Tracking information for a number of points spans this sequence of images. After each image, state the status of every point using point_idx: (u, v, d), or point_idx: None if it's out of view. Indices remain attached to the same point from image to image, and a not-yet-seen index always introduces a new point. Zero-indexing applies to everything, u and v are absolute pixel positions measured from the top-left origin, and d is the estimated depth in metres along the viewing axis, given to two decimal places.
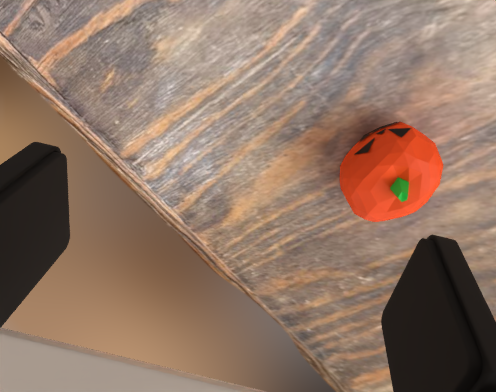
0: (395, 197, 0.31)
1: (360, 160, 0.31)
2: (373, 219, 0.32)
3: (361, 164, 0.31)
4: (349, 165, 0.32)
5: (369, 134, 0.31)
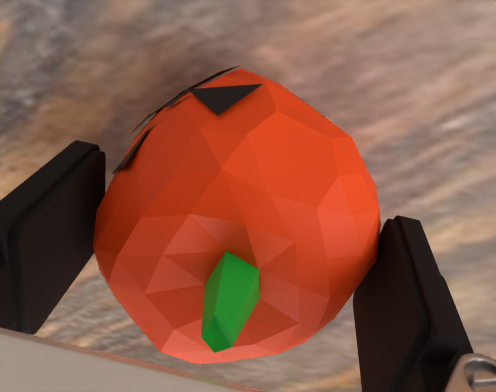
0: None
1: (114, 193, 0.10)
2: None
3: (113, 207, 0.09)
4: (99, 206, 0.10)
5: (158, 111, 0.10)
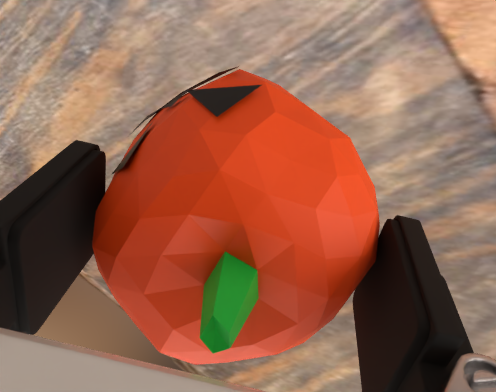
0: None
1: (113, 193, 0.10)
2: None
3: (112, 207, 0.09)
4: (98, 206, 0.10)
5: (157, 112, 0.10)
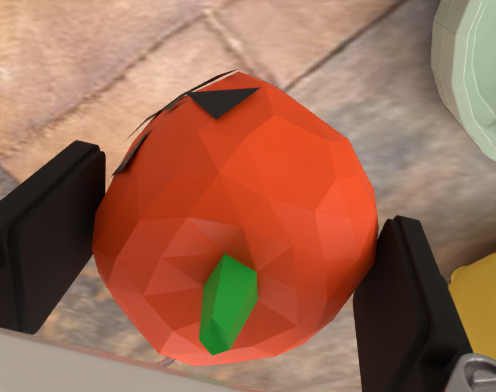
0: None
1: (113, 196, 0.10)
2: None
3: (111, 209, 0.09)
4: (98, 208, 0.10)
5: (156, 114, 0.10)
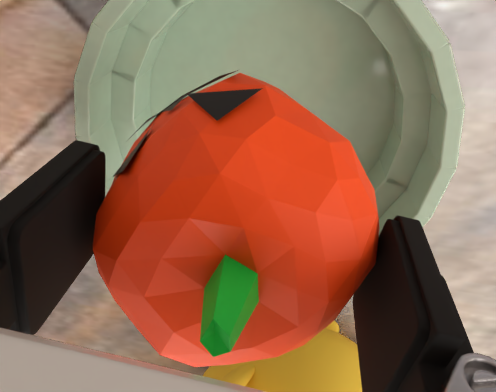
0: None
1: (113, 196, 0.10)
2: None
3: (112, 210, 0.09)
4: None
5: (157, 115, 0.10)
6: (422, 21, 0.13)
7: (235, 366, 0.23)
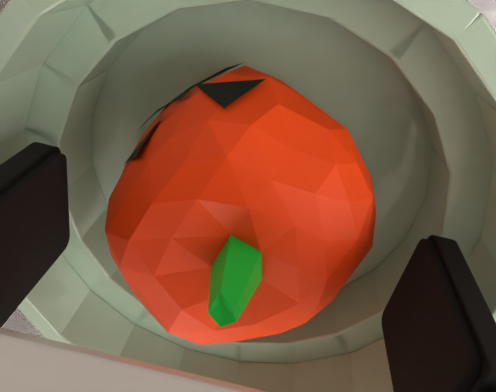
0: None
1: (126, 181, 0.10)
2: None
3: (125, 194, 0.10)
4: (111, 195, 0.11)
5: (166, 105, 0.11)
6: None
7: None
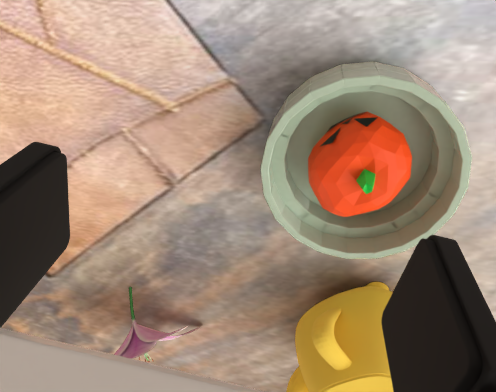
0: (362, 190, 0.29)
1: (326, 151, 0.29)
2: (341, 213, 0.31)
3: (326, 155, 0.29)
4: (315, 157, 0.30)
5: (336, 125, 0.30)
6: (451, 118, 0.27)
7: (326, 309, 0.37)
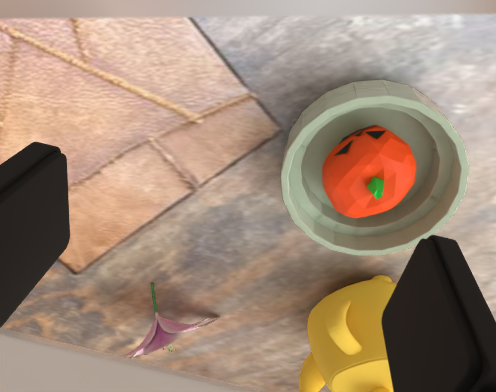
0: (372, 195, 0.33)
1: (340, 160, 0.33)
2: (352, 215, 0.35)
3: (340, 164, 0.33)
4: (329, 165, 0.34)
5: (348, 136, 0.34)
6: (451, 132, 0.30)
7: (337, 301, 0.41)
